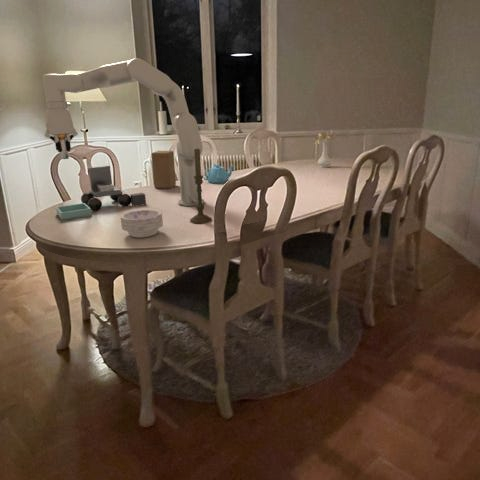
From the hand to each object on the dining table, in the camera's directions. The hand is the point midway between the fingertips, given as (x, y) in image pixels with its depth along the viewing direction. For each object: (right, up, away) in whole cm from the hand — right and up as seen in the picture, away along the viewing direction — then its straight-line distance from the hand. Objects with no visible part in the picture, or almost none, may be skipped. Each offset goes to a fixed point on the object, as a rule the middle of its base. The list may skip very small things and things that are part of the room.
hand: (63, 151), depth 182 cm
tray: (+1, -27, +9) cm, 28 cm away
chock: (+26, -20, +26) cm, 42 cm away
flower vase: (+133, +12, +113) cm, 175 cm away
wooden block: (+32, -7, +64) cm, 72 cm away
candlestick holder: (+59, -30, -4) cm, 66 cm away
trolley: (+11, -21, +25) cm, 34 cm away
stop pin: (0, -3, +1) cm, 3 cm away
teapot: (+63, -3, +74) cm, 97 cm away
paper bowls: (+38, -36, -19) cm, 56 cm away
